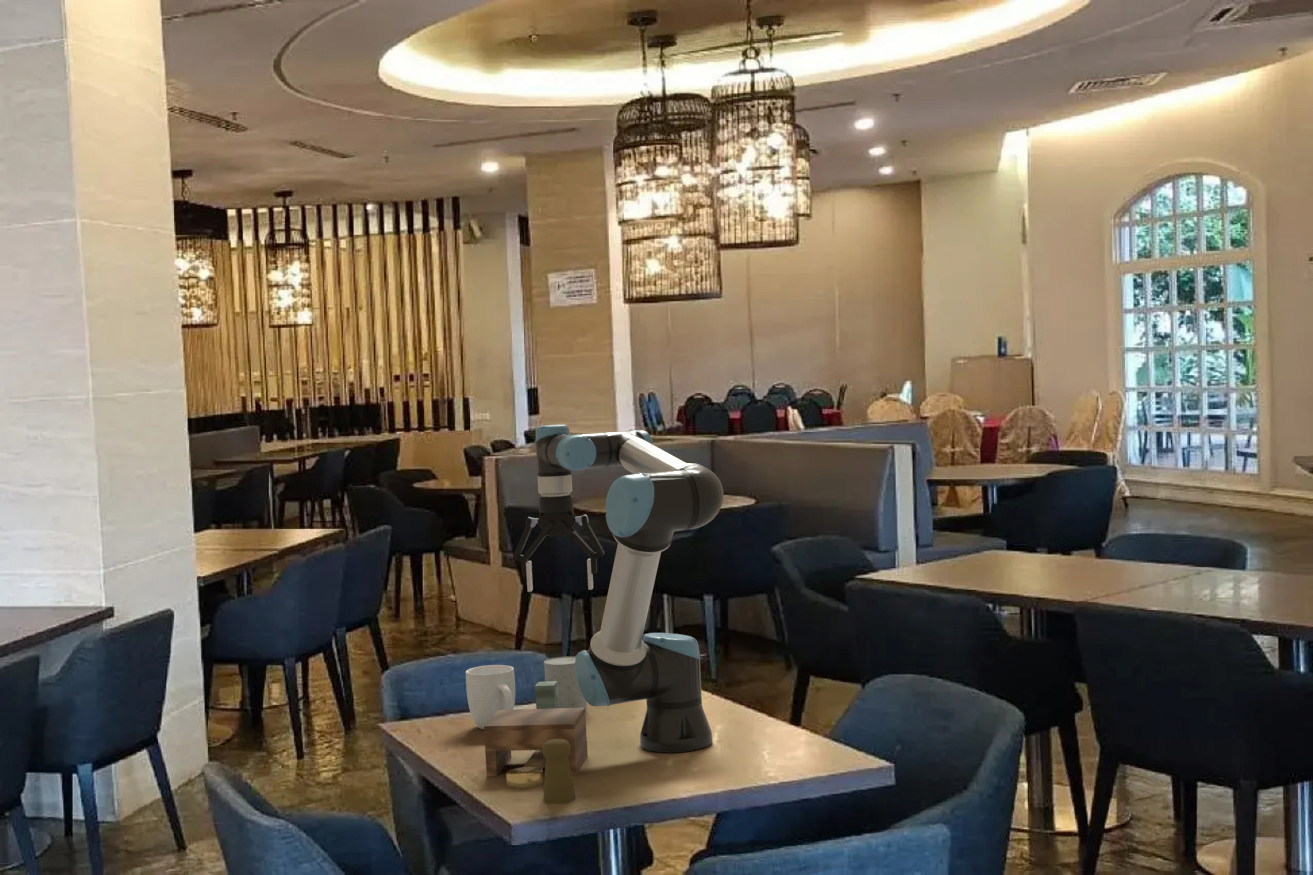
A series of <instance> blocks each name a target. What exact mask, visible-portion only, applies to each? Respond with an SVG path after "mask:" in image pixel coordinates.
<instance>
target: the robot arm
mask: <svg viewBox="0 0 1313 875" xmlns="http://www.w3.org/2000/svg"><path fill="white" fill-rule="evenodd" d="M536 427H537V428H536V429H535V440H534V445H535V453H536V454H535V456H536V469H537V470H536V471H537V488H538V489H537V493H538V494H539V495H540V496H539V497H538V510H539V511H538V512H539V516H538V518H537V517H536V518H535V517H531V516H528V517H527V518H525V521H524V522H525V525H524V529H523V532H522V534H521V536H520V538H519V541H518V543H517V546H516V548H515V550H514V552H513V553H512V554H513V555H512V559H513V560H514V561H519V562H520V565H521V566H520V567H521V576H522V577H526V585H527V586H526V587H527V593H531V592H533V589H534V585H533V569H532V568H533V566H532V564H533V563H532V560H529V558H531V556H532V555H533V553H534V552H535V551H536V550H537V548H538V546H540V545H541V543H542V541H543V540H544V539H545V538H546V537H547V536H548V537H549V538H555V537H560V538H561V537H566V536H567V535H568V537H570V538H571V539H572V540H573V542H574V543H575V544H576V545H577V546H578V547H579V548H580V549H581V550H582V551H583V552H584V553H585V555H587V557H589V558H588V559H587V560H586V565H587V566H586V567H587V569H586V570H587V586H588V588H587V589H588V591H589V590H590V591H591V590H593V589H594V577H593V575H596V574H597V572H598V562H597V560H598V558H600V557H603V556H604V555H605V550H604V548H603V546H602V544H601V543H600V541H599V539H598V538H597V535H596V533H595V532H594V530H593V528H592V527H591V525H590V521H589V516H588V515H587V514H583V515H580V516H579V515H578V516H576V515H575V513H574V499H573V498H574V496H573V495H572V494H571V493H572V492H573V479H572V472H575V471H583V470H587V469H595V468H607V467H608V468H610V467H612V468H613V467H621V468H623V469H625V470H627V471H628V472H630V473H631V474H626V475H622V476H620V477H618V478H617V479H615V480H614V481H613V483H612V484H611V486H610V487H609V489H608V492H607V496H606V498H605V504H604V505H605V508H604V509H605V510H606V513H605V519H606V524H607V527H608V529H609V531H610V532H611V533H612V536H613V538H614V540H615V541H616V542H617V547H616V552H615V555H614V562H613V566H612V571H611V576H610V582H609V587H608V591H607V596H606V597H607V598H606V601H605V606H604V611H603V615H602V622H601V626H600V630H599V631H597V632H596V633H595V634H594V635H593V636H592V637H591V639H590V643H589V648H588V650H587V649H583V650H581V651H579V652H577V654H576V655H575V657H576V659H575V671H576V677H577V681H578V685H579V688H580V691H581V693H582V695H583V697H584V699H585V700H586V703H587V704H589V706H591V707H596V708H597V707H610V706H615V705H619V704H626V703H630V702H637V701H644V700H646V711H645V715H644V719H643V722H642V726H641V731H640V734H639V741H640V742H639V743H640V744H639V746H640V747H641V748H642V749H644V750H647V751H650V752H655V753H683V752H684V753H685V752H691V751H697V750H701V749H705V748H706V747H709V746H711V745H712V743H713V732H712V729H711V726H710V723H709V721H708V719H707V718H708V717H707V716H706V713H705V710H704V707H703V698H702V696H703V695H702V678H701V654H700V649H699V648H700V647H699V643H698V641H697V639H696V638H695V637H692V636H691V635H685V634H679V633H671V632H669V633H668V632H648V633H645V634H644V631H645V627H646V624H647V617H648V613H649V610H650V604H651V599H652V594H653V590H654V587H655V581H656V576H657V574H658V573H657V571H658V567H659V563H660V558H661V553H662V552H664V551H665V550H666V551H667V549H668V548H669V547H670V546H671V544H672V541H673V540H672V539H673V536H674V533H675V532H679V531H687V530H695V529H698V528H701V527H703V526H706V525H707V524H709V523H710V522H712V520H714V519H715V517H716V516H717V515H718V514H719V513H720V510H721V508H722V505H723V502H724V488H723V485H722V482H721V480H720V478H719V477H718V476H717V475H716V473H714V471H712V470H711V469H709V468H707V467H705V466H703V465H701V464H699V463H687V462H686V461H684V460H682V459H680V458H678V457H676V456H674V455H672V454H670V453H669V452H667V451H665V450H663V449H662V448H659V447H658V446H656V445H654V442H653V439H652V437H651V436H650V433H649V432H648V431H646V430H644V429H643V430H636V429H629V430H621V431H619V430H618V431H609V432H595V433H590V432H589V433H578V434H575V433H574V434H570V428H569V426H568V425H567V424H549V425H548V424H546V425H539V426H536ZM576 523H578V524H579V526H582V528H583V530H584V533H585V534H586V536H587V538H588V539H589V542H590V543H591V545H592V547H593V548H594V550H595V551H594V550H593V549H592V548H591V547H590V546H589V545H588V543H587V542H586V541H585V540H584V539H583V538H582V537H581V536H580V534H578V532H577V531H576V530H575V529H574V528H573V527H574V526H575V524H576ZM537 524H538V526H539V527H540V529H541V531H540V533H539V534H538V536H537V537H536V538H535V539H534V540H533V542H532V543H531V544H530V546H529V548H528V549H527V550H526V551H525V553H524V554H522V552H523V550H524V548H525V546H526V543H527V541H528V538H529V536H530V534H531V531H532V529H533V528H535V527H536V525H537Z"/></svg>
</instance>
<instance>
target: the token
mask: <svg viewBox="0 0 1313 875" xmlns="http://www.w3.org/2000/svg"><path fill="white" fill-rule="evenodd" d="M505 776H506V779H505V780H506V787H508V788H510V789H517V790H518V789H519V790H521V789H523V790H524V789H532V788H536V787H539V786H541V785H542V784H544V776H543V770H542V769H540V768H537V767H523V766H522V767H515V768H513V769H509V770H507V771H506V773H505ZM538 785H539V786H538ZM535 786H536V787H535Z"/></svg>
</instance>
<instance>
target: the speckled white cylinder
mask: <svg viewBox="0 0 1313 875" xmlns="http://www.w3.org/2000/svg"><path fill="white" fill-rule="evenodd" d="M575 659H576V656H559V657H558V656H557V657H551V658H547V659H546V660H544V661H543V664H544V682H549V681H557V684H558V702H559V708H585V714H587V713H588V707H587V706H588V705H587V704H588V703H587V701H586V700H585V699H584V697H583V695H582V693H581V691H580V688H579V685H578V681H577V677H576V671H575ZM586 712H587V713H586Z"/></svg>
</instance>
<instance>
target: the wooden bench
mask: <svg viewBox="0 0 1313 875" xmlns="http://www.w3.org/2000/svg"><path fill="white" fill-rule="evenodd" d="M483 733H484V735H483V736H484V752H485V753H484V754H485V768H486V769H485V770H486V777H497V776H498V775H499V774H500V773H501V771H502V770H503V769H504V768H505V766H506V765H507V764H508V763H509V761H510V760H511V759H512V752H514V751H518V752H519V751H535V750H542V749H543V745H544V743H545V742H546V741H548V740H552V739H564V740H567V741H568V742H569V744H570V747H571V751H570V755H569V756H568V759H569V765H570V770H571V775H577V774H578V773H579V771H580V769H581V768H582V766H583V764H584V763H585V761H586V759H587V757H589V756H588V740H587V739H588V738H587V736H588V735H587V720H586V713H585V708H552V709H536V708H524V709H522V708H520V709H519V708H518V709H515V708H514V710H499V711H498V712H497V713H496V714H495V715H494V716H493V717H492V718H491V719H490V720H489V721H488V722H487V723H486V725H485V726H484V730H483Z"/></svg>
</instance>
